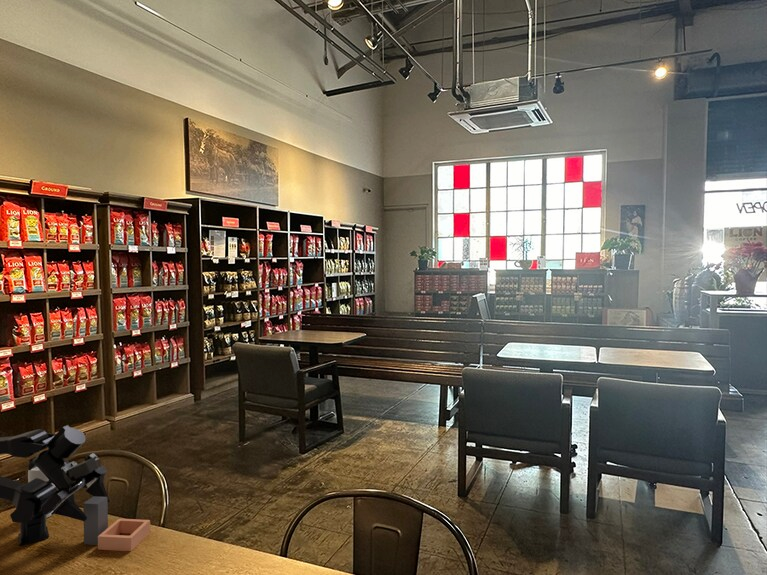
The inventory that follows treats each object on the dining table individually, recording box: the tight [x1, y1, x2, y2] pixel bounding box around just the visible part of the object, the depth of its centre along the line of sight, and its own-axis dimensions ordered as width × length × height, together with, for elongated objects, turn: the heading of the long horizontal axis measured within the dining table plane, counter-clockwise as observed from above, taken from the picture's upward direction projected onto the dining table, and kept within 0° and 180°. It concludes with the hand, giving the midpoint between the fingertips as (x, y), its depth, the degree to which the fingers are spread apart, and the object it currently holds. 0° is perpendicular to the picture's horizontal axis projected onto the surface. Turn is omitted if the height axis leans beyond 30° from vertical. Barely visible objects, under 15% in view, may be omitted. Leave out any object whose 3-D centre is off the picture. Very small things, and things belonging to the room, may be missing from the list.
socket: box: [97, 518, 151, 552], centre depth 131 cm, size 9×9×4 cm
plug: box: [82, 496, 109, 546], centre depth 131 cm, size 4×4×11 cm
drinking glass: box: [27, 467, 57, 519], centre depth 143 cm, size 7×7×15 cm
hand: (97, 511), depth 131 cm, fingers open, 9 cm apart
